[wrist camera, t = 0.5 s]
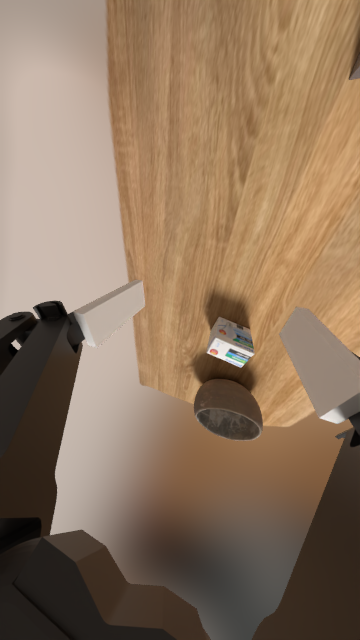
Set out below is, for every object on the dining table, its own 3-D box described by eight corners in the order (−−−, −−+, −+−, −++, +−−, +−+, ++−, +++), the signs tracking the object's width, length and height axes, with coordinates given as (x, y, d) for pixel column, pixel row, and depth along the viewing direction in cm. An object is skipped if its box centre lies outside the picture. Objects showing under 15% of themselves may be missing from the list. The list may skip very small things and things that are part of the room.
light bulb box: (250, 328, 42) (256, 353, 33) (239, 343, 46) (241, 368, 37) (218, 315, 43) (215, 336, 34) (210, 330, 47) (205, 353, 38)
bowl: (236, 409, 66) (238, 448, 54) (191, 387, 68) (183, 420, 56) (270, 387, 52) (282, 433, 40) (212, 360, 54) (207, 397, 42)
